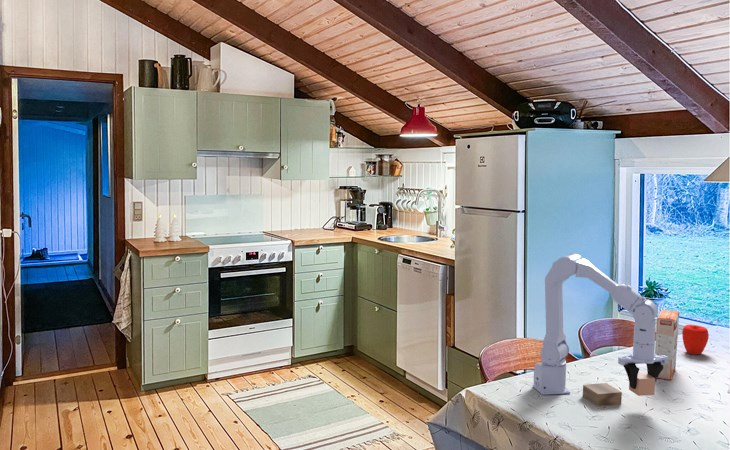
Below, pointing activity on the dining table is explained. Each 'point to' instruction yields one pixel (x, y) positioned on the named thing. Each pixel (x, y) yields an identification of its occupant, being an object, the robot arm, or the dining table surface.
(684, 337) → the apple
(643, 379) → the terracotta block
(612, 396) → the walnut base
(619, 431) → the dining table surface
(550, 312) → the robot arm
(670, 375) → the cracker box
